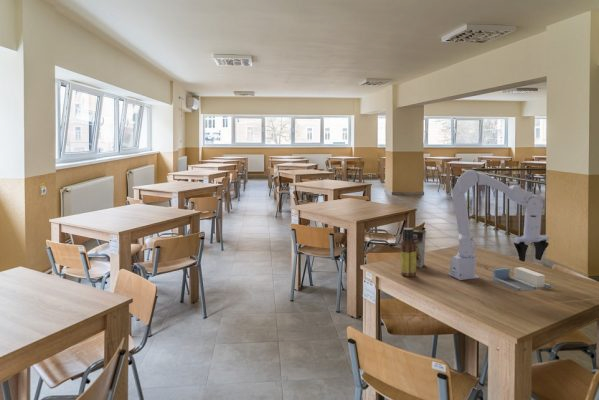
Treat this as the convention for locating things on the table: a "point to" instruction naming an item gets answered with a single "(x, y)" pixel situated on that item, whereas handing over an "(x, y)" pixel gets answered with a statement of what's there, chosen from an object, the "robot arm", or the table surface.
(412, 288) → the table surface
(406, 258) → the sauce bottle
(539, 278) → the cream rectangular block
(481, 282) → the table surface
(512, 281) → the board
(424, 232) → the coffee box
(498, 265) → the table surface
